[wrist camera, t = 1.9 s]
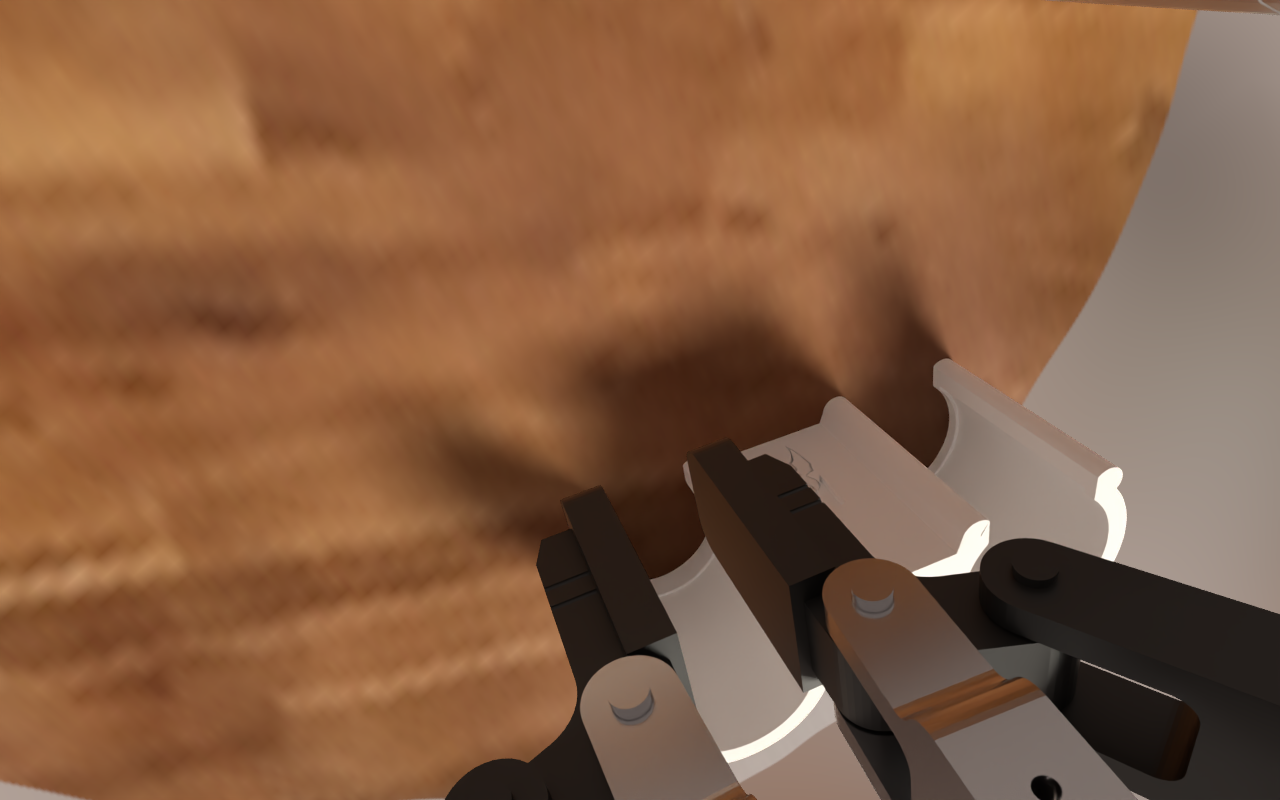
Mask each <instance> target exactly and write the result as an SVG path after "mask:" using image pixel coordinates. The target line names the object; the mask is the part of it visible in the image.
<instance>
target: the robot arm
mask: <svg viewBox="0 0 1280 800" xmlns="http://www.w3.org/2000/svg"><path fill="white" fill-rule="evenodd" d="M1047 1H1062V2H1078V3H1094V4H1110V5H1125V6H1141V7H1157V8H1173V9H1188V10H1204V11H1221V12H1236V13H1252V14H1267V15H1280V0H1047ZM687 462H688V467H689V472H690V476H691V481H692V486H693V491H694V495H695V500H696V505H697V509H698V514H699V519H700V522H701V526H702V529H703V532H704V534H705V537H706V539H707V541H708V543H709V545H710V547H711V549H712V551H713V553H714V554H715V556H716V558H717V559H718V561H719V562H720V564H721V565H722V567H723V568H724V570H725V572H726V573H727V575H728V576H729V578H730V579H731V581H732V582H733V584H734V586H735V587H736V589H737V590H738V592H739V593H740V595H741V596H742V598H743V600H744V601H745V603H746V604H747V606H748V607H749V609H750V610H751V612H752V614H753V615H754V617H755V618H756V620H757V621H758V623H759V624H760V626H761V628H762V629H763V631H764V632H765V634H766V635H767V637H768V638H769V640H770V642H771V643H772V645H773V646H774V648H775V649H776V651H777V652H778V654H779V656H780V657H781V659H782V660H783V662H784V663H785V665H786V666H787V668H788V670H789V671H790V673H791V674H792V676H793V677H794V679H795V680H796V682H797V684H798V685H799V687H800V688H801V690H802V691H803V693H805V692H807V691H809V690H812V689H814V688H816V687H818V686H821V685H823V686H824V688H825V689H826V691H827V692H828V694H829V695H830V697H831V698H832V700H833V701H834V710H835V718H836V722H837V724H838V727H839V729H840V731H841V732H842V734H843V736H844V737H845V739H846V741H847V743H848V744H849V746H850V748H851V749H852V751H853V753H854V755H855V756H856V758H857V760H858V762H859V763H860V765H861V767H862V768H863V770H864V772H865V773H866V775H867V777H868V779H869V780H870V782H871V784H872V785H873V787H874V789H875V791H876V792H877V794H878V796H879V798H880V799H881V800H1138V799H1137V798H1136V797H1135V796H1134V795H1133V794H1132V793H1131V792H1130V791H1132V792H1134V793H1137V794H1138V795H1141V796H1143V797H1145V798H1147V799H1149V800H1280V614H1277V613H1274V612H1271V611H1268V610H1265V609H1262V608H1258V607H1255V606H1252V605H1249V604H1246V603H1242V602H1239V601H1236V600H1233V599H1230V598H1226V597H1224V596H1220V595H1217V594H1214V593H1211V592H1208V591H1205V590H1201V589H1198V588H1195V587H1192V586H1189V585H1185V584H1182V583H1179V582H1176V581H1173V580H1169V579H1167V578H1163V577H1160V576H1157V575H1154V574H1151V573H1148V572H1144V571H1141V570H1138V569H1135V568H1132V567H1128V566H1126V565H1122V564H1119V563H1116V562H1113V561H1110V560H1107V559H1103V558H1100V557H1097V556H1094V555H1091V554H1088V553H1084V552H1081V551H1078V550H1075V549H1072V548H1069V547H1066V546H1062V545H1059V544H1056V543H1053V542H1049V541H1045V540H1041V539H1034V538H1017V539H1011V540H1006V541H1003V542H1001V543H998V544H996V545H995V546H993V547H991V548H990V549H989V550H988V551H987V552H986V553H985V554H984V556H983V558H982V560H981V563H980V571H977V572H969V573H961V574H953V575H945V576H935V577H920V576H915V575H914V574H913V573H912V572H910V571H909V570H908V569H906V568H905V567H903V566H901V565H899V564H897V563H894V562H891V561H888V560H883V559H875V558H874V557H873V556H872V555H871V554H870V553H869V551H868V550H867V549H866V548H865V547H864V546H863V545H862V544H861V543H860V542H859V540H858V539H857V538H856V537H855V536H854V535H853V534H852V533H851V532H850V530H849V529H848V528H847V527H846V526H845V525H844V524H843V523H842V522H841V520H840V519H839V518H838V517H837V516H836V515H835V514H834V513H833V512H832V511H831V509H830V508H829V507H828V506H827V505H826V504H825V503H824V502H823V503H822V501H821V498H820V497H819V496H818V495H817V494H816V493H815V492H814V491H813V490H812V488H811V487H810V488H809V487H808V485H807V483H806V482H805V481H804V480H803V478H802V477H801V476H800V475H799V474H798V473H797V472H796V471H795V470H794V469H793V467H792V466H791V465H789V464H786V463H784V462H782V461H780V460H778V459H776V458H774V457H771V456H769V455H767V454H764V455H761V456H758V457H756V458H753V459H751V460H747V459H746V458H745V456H744V455H743V454H742V453H741V452H740V450H739V449H738V448H737V447H736V446H735V444H734V443H733V442H732V441H731V440H730V439H729V438H724V439H721V440H718V441H716V442H713V443H710V444H708V445H705V446H702V447H700V448H697V449H694V450H692V451H689V452H688V453H687ZM561 504H562V508H563V511H564V514H565V517H566V520H567V523H568V526H569V530H566V531H564V532H561V533H559V534H556V535H554V536H551V537H548V538H546V539H543V540H541V545H540V550H539V554H538V559H537V564H536V566H537V569H538V572H539V575H540V578H541V580H542V583H543V586H544V589H545V592H546V595H547V598H548V601H549V604H550V607H551V610H552V613H553V616H554V619H555V622H556V625H557V628H558V631H559V633H560V636H561V639H562V642H563V645H564V648H565V651H566V654H567V657H568V660H569V663H570V666H571V669H572V672H573V675H574V678H575V681H576V685H577V703H576V707H575V711H574V714H573V716H572V718H571V720H570V722H569V724H568V725H567V727H566V728H565V730H564V731H563V732H562V733H561V735H560V736H559V737H558V738H557V739H556V740H555V741H554V742H553V743H552V744H551V745H550V746H548V747H547V748H546V749H545V750H543V751H542V752H541V753H540V754H539V755H537V756H536V757H535V758H534V759H533V760H531V761H530V762H529V763H526V762H523V761H521V760H517V759H498V760H492V761H490V762H487V763H484V764H482V765H480V766H478V767H476V768H474V769H473V770H471V771H470V772H468V773H467V774H466V775H465V776H463V777H462V778H461V779H460V780H459V781H458V782H457V783H456V784H455V786H454V787H453V788H452V789H451V791H450V792H449V794H448V795H447V797H446V798H445V800H757V799H756V798H755V797H754V796H753V795H752V794H749V795H747V794H746V793H745V792H744V790H743V789H742V787H741V786H740V784H739V783H738V781H737V779H736V777H735V776H734V774H733V772H732V770H731V769H730V767H729V765H728V763H727V762H726V760H725V758H724V756H723V755H722V753H721V751H720V749H719V748H718V746H717V744H716V742H715V740H714V739H713V737H712V735H711V733H710V732H709V730H708V728H707V726H706V725H705V723H704V721H703V719H702V718H701V716H700V714H699V712H698V711H697V708H696V704H695V700H694V696H693V692H692V688H691V685H690V681H689V677H688V673H687V669H686V665H685V661H684V657H683V654H682V650H681V646H680V642H679V638H678V634H677V632H676V630H675V628H674V626H673V624H672V622H671V620H670V618H669V616H668V614H667V612H666V610H665V608H664V606H663V604H662V602H661V600H660V599H659V597H658V595H657V593H656V591H655V589H654V587H653V585H652V583H651V581H650V579H649V577H648V575H647V573H646V571H645V569H644V567H643V565H642V563H641V562H640V560H639V558H638V556H637V554H636V552H635V550H634V548H633V546H632V544H631V542H630V540H629V538H628V536H627V534H626V532H625V530H624V528H623V526H622V525H621V523H620V521H619V519H618V517H617V515H616V513H615V511H614V509H613V507H612V505H611V503H610V501H609V499H608V497H607V495H606V493H605V491H604V490H603V488H602V486H601V485H599V486H596V487H594V488H591V489H588V490H586V491H583V492H581V493H578V494H575V495H573V496H570V497H567V498H565V499H562V500H561ZM1080 659H1081V660H1083V661H1086V662H1088V663H1091V664H1093V665H1096V666H1098V667H1101V668H1103V669H1106V670H1109V671H1111V672H1114V673H1116V674H1119V675H1121V676H1124V677H1126V678H1129V679H1132V680H1134V681H1137V682H1139V683H1142V684H1144V685H1147V686H1149V687H1152V688H1154V689H1157V690H1160V691H1162V692H1164V693H1167V694H1170V695H1172V696H1174V697H1176V698H1178V699H1180V700H1182V701H1179V700H1177V699H1174V698H1171V697H1169V696H1166V695H1164V694H1161V693H1159V692H1156V691H1154V690H1151V689H1149V688H1146V687H1143V686H1141V685H1139V684H1136V683H1133V682H1131V681H1128V680H1126V679H1123V678H1121V677H1118V676H1116V675H1113V674H1111V673H1108V672H1106V671H1103V670H1101V669H1098V668H1095V667H1093V666H1090V665H1088V664H1085V663H1083V662H1080Z"/></svg>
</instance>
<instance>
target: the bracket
mask: <svg viewBox="0 0 1280 800" xmlns="http://www.w3.org/2000/svg"><path fill="white" fill-rule="evenodd" d="M933 386H934V387H935V388H937V389H938V390H939V391H940V392H941V393H942V395H943V396H944V398H945V400H946V402H947V405H948V409H949V427H948V432H947V435H946V438H945V441H944V444H943V446H942V448H941V450H940V452H939V453H938V455H937V457H936V458H935V460H934V461H933V462H932V464H931V465H930V466H929V467H928V468H927V467H926V466H924V465H923V464H922V463H921V462H920V461H919V460H917V459H916V458H915V457H914V456H913V455H911V454H910V453H909V452H908V451H907V450H906V449H904V448H903V447H902V446H901V445H900V444H899V443H897V442H896V441H895V440H894V439H893V438H892V437H890V436H889V435H888V434H887V433H886V432H884V431H883V430H882V429H881V428H880V427H879V426H877V425H876V424H875V423H874V422H873V421H872V420H870V419H869V418H868V417H867V416H866V415H865V414H863V413H862V412H861V411H860V410H859V409H857V408H856V407H855V406H854V405H853V404H852V403H850V402H849V401H848V400H847V399H846V398H844V397H841V396H839V397H835V398H833V399H831V400H830V401H829V402H828V403H827V404H826V405H825V407H824V410H823V414H822V417H821V420H820V423H819V424H816V425H813V426H811V427H808V428H805V429H802V430H799V431H797V432H794V433H791V434H788V435H786V436H783V437H780V438H777V439H774V440H772V441H769V442H766V443H763V444H761V445H758V446H755V447H752V448H749V449H747V450H744V451H741V453H742V454H743V455H744V456H745V458H746V459H747V460H751V459H753V458H756V457H758V456H761V455H764V454H767V455H769V456H771V457H774V458H776V459H778V460H780V461H782V462H784V463H786V464H789V465H791V466H792V467H793V469H794V470H795V471H796V472H797V473H798V474H799V475H800V476H801V477H802V478H803V480H804V481H805V482H806V483H807V485H808V487H809V488H810V487H811V488H812V490H813V491H814V492H815V493H816V494H817V495H818V496H819V497H820V498H821V501H822V503H823V502H824V503H825V504H826V505H827V506H828V507H829V508H830V509H831V511H832V512H833V513H834V514H835V515H836V516H837V517H838V518H839V519H840V520H841V522H842V523H843V524H844V525H845V526H846V527H847V528H848V529H849V530H850V532H851V533H852V534H853V535H854V536H855V537H856V538H857V539H858V540H859V542H860V543H861V544H862V545H863V546H864V547H865V548H866V549H867V550H868V551H869V553H870V554H871V555H872V556H873V557H874V558H875V559H883V560H888V561H891V562H894V563H897V564H899V565H901V566H903V567H905V568H906V569H908V570H909V571H910V572H912V573H913V574H914V575H915V576H920V577H935V576H945V575H953V574H961V573H969V572H977V571H980V563H981V560H982V558H983V556H984V554H985V553H986V552H987V551H988V550H989V549H990V548H991V547H993V546H995V545H996V544H998V543H1001V542H1003V541H1006V540H1011V539H1017V538H1034V539H1041V540H1045V541H1049V542H1053V543H1056V544H1059V545H1062V546H1066V547H1069V548H1072V549H1075V550H1078V551H1081V552H1084V553H1088V554H1091V555H1094V556H1097V557H1100V558H1103V559H1107V560H1110V561H1113V562H1114V560H1115V558H1116V556H1117V554H1118V551H1119V549H1120V546H1121V544H1122V541H1123V537H1124V533H1125V528H1126V517H1127V515H1126V507H1125V503H1124V500H1123V497H1122V495H1121V494H1120V492H1119V491H1118V490H1117V487H1118V485H1119V484H1120V482H1121V480H1122V476H1123V473H1122V470H1121V469H1120V468H1118V467H1117V466H1115V465H1114V464H1112V463H1110V462H1109V461H1107V460H1106V459H1104V458H1103V457H1101V456H1100V455H1098V454H1097V453H1095V452H1093V451H1092V450H1090V449H1089V448H1087V447H1086V446H1084V445H1083V444H1081V443H1079V442H1078V441H1076V440H1075V439H1073V438H1072V437H1070V436H1069V435H1067V434H1066V433H1064V432H1062V431H1061V430H1059V429H1058V428H1056V427H1055V426H1053V425H1051V424H1050V423H1048V422H1047V421H1045V420H1044V419H1042V418H1041V417H1039V416H1038V415H1036V414H1034V413H1033V412H1031V411H1030V410H1028V409H1027V408H1025V407H1024V406H1022V405H1021V404H1019V403H1017V402H1016V401H1014V400H1013V399H1011V398H1010V397H1008V396H1007V395H1005V394H1003V393H1002V392H1000V391H999V390H997V389H996V388H994V387H993V386H991V385H990V384H988V383H986V382H985V381H983V380H982V379H980V378H979V377H977V376H976V375H974V374H972V373H971V372H969V371H968V370H966V369H965V368H963V367H962V366H960V365H958V364H957V363H955V362H954V361H952V360H951V359H942V360H940V361H938V362H937V363H936V364H935V365H934V366H933ZM683 470H684V475H685V480H686V483H687V484H688V486H689V487H690V489H691V490H692V492H693V493H694V491H693V486H692V481H691V476H690V472H689V467H688V462H687V461H686V462H685V463H684V464H683ZM650 581H651V583H652V585H653V587H654V589H655V591H656V593H657V595H658V597H659V599H660V600H661V602H662V604H663V606H664V608H665V610H666V612H667V614H668V616H669V618H670V620H671V622H672V624H673V626H674V628H675V630H676V632H677V634H678V638H679V642H680V646H681V650H682V654H683V657H684V661H685V665H686V669H687V673H688V677H689V681H690V685H691V688H692V692H693V696H694V700H695V704H696V708H697V711H698V712H699V714H700V716H701V718H702V719H703V721H704V723H705V725H706V726H707V728H708V730H709V732H710V733H711V735H712V737H713V739H714V740H715V742H716V744H717V746H718V748H719V749H720V751H721V753H722V755H723V756H724V758H725V760H726V762H727V763H730V762H733V761H737V760H740V759H743V758H745V757H748V756H750V755H753V754H755V753H757V752H759V751H761V750H763V749H765V748H767V747H769V746H770V745H772V744H774V743H775V742H777V741H778V740H780V739H781V738H783V737H784V736H785V735H787V734H788V733H789V732H790V731H792V730H793V729H794V728H795V727H796V726H797V725H798V724H799V723H800V722H801V721H802V720H803V719H804V718H805V717H806V716H807V715H808V714H809V713H810V712H811V710H812V709H813V708H814V707H815V705H816V704H817V702H818V701H819V699H820V698H821V696H822V694H823V692H824V691H825V688H824V686H823V685H821V686H818V687H816V688H814V689H812V690H809V691H807V692H805V693H803V691H802V690H801V688H800V687H799V685H798V684H797V682H796V680H795V679H794V677H793V676H792V674H791V673H790V671H789V670H788V668H787V666H786V665H785V663H784V662H783V660H782V659H781V657H780V656H779V654H778V652H777V651H776V649H775V648H774V646H773V645H772V643H771V642H770V640H769V638H768V637H767V635H766V634H765V632H764V631H763V629H762V628H761V626H760V624H759V623H758V621H757V620H756V618H755V617H754V615H753V614H752V612H751V610H750V609H749V607H748V606H747V604H746V603H745V601H744V600H743V598H742V596H741V595H740V593H739V592H738V590H737V589H736V587H735V586H734V584H733V582H732V581H731V579H730V578H729V576H728V575H727V573H726V572H725V570H724V568H723V567H722V565H721V564H720V562H719V561H718V559H717V558H716V556H715V554H714V553H713V551H712V549H711V547H710V545H709V543H708V541H707V539H706V537H705V538H704V540H703V542H702V544H701V545H700V547H699V548H698V549H697V551H696V552H695V553H694V554H693V555H692V556H691V557H690V558H689V559H688V560H687V561H686V562H685V563H684V564H682V565H681V566H680V567H678V568H677V569H675V570H673V571H672V572H670V573H668V574H666V575H663V576H661V577H658V578H655V579H651V580H650Z"/></svg>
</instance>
